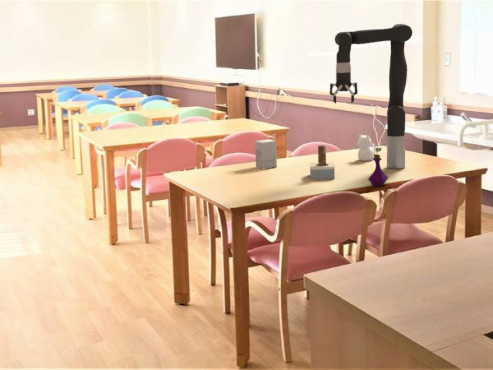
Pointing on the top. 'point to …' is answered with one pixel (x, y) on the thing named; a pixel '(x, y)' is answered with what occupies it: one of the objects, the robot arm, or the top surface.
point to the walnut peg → (322, 155)
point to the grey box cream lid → (322, 171)
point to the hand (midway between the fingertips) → (343, 103)
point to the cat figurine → (365, 148)
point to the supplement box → (265, 153)
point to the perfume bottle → (378, 172)
